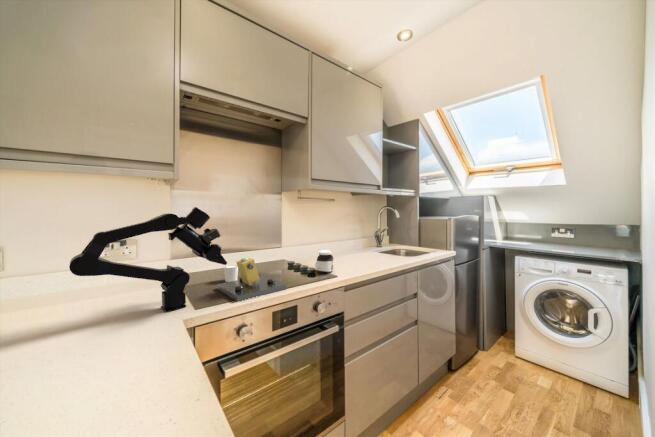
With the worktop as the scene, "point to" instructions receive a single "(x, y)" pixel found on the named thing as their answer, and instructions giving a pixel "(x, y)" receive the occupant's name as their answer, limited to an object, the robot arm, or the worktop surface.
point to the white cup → (231, 273)
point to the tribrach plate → (250, 288)
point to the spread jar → (324, 262)
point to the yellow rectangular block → (248, 270)
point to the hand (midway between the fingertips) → (222, 262)
